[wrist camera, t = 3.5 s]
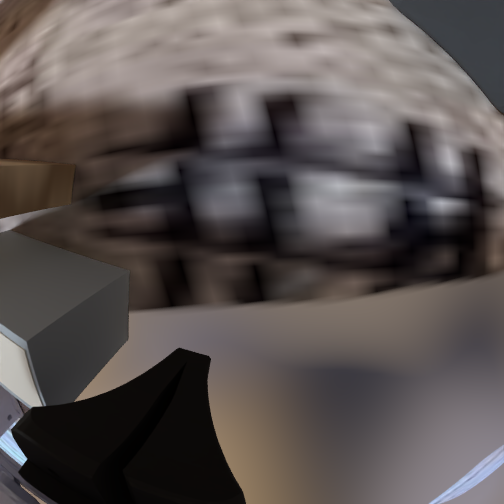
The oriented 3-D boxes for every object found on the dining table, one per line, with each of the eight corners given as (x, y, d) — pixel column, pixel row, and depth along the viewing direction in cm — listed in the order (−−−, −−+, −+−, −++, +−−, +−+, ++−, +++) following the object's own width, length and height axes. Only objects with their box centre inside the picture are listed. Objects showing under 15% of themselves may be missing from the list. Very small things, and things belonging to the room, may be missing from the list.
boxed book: (128, 338, 13) (53, 426, 6) (14, 286, 14) (-57, 325, 7) (130, 269, 12) (25, 342, 6) (11, 229, 13) (-72, 257, 6)
